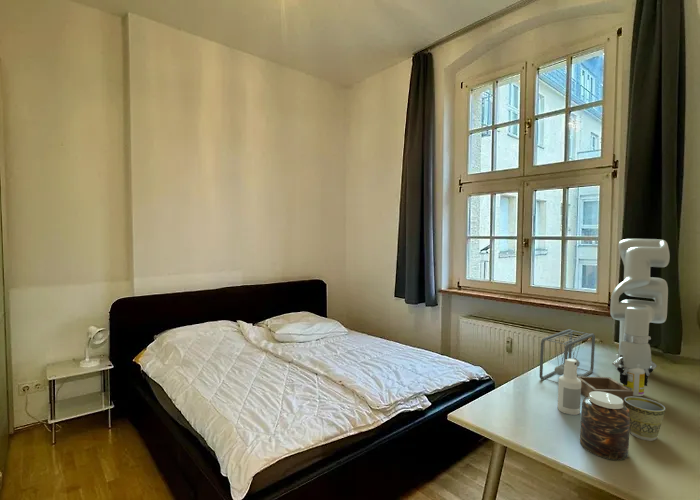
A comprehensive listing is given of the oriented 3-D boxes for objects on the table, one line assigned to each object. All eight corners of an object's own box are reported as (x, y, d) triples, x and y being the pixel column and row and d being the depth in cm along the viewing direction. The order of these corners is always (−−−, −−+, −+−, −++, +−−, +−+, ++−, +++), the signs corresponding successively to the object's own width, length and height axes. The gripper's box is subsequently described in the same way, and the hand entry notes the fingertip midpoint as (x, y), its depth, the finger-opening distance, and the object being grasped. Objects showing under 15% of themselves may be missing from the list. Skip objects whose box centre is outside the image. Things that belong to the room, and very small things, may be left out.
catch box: (574, 388, 151) (575, 376, 151) (609, 389, 150) (609, 377, 150) (594, 403, 138) (594, 390, 137) (632, 405, 137) (633, 391, 137)
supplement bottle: (641, 391, 149) (642, 359, 148) (645, 398, 143) (647, 364, 142) (620, 388, 152) (622, 356, 151) (624, 394, 146) (626, 362, 145)
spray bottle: (572, 417, 127) (574, 364, 126) (553, 408, 133) (555, 358, 133) (584, 412, 131) (586, 361, 130) (565, 404, 137) (567, 355, 136)
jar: (635, 451, 108) (638, 399, 107) (618, 465, 101) (621, 410, 100) (589, 433, 117) (592, 385, 117) (572, 444, 111) (574, 394, 110)
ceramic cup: (651, 447, 110) (652, 413, 110) (615, 430, 119) (616, 399, 119) (676, 437, 115) (678, 405, 115) (640, 422, 124) (642, 392, 124)
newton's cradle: (565, 388, 151) (567, 344, 150) (538, 380, 159) (540, 338, 158) (593, 372, 170) (595, 332, 169) (568, 365, 178) (570, 328, 177)
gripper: (651, 336, 149) (649, 381, 150) (606, 335, 150) (604, 379, 151) (666, 342, 142) (664, 389, 143) (618, 341, 143) (616, 387, 144)
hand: (633, 383), depth 147 cm, fingers closed on supplement bottle, 6 cm apart
